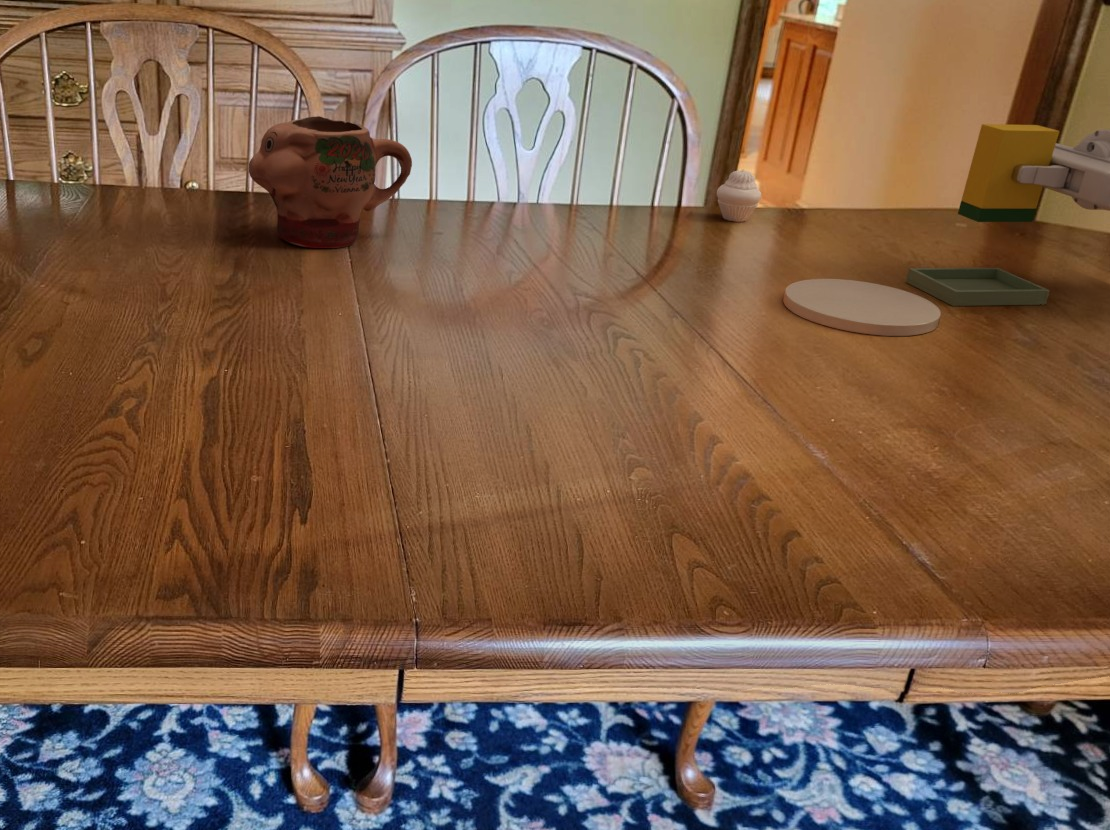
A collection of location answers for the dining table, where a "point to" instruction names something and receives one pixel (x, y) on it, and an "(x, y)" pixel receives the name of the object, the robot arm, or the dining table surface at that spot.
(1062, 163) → the robot arm
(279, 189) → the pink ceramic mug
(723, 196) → the muffin
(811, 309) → the plate
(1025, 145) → the sponge
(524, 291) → the dining table surface
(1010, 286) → the dish
